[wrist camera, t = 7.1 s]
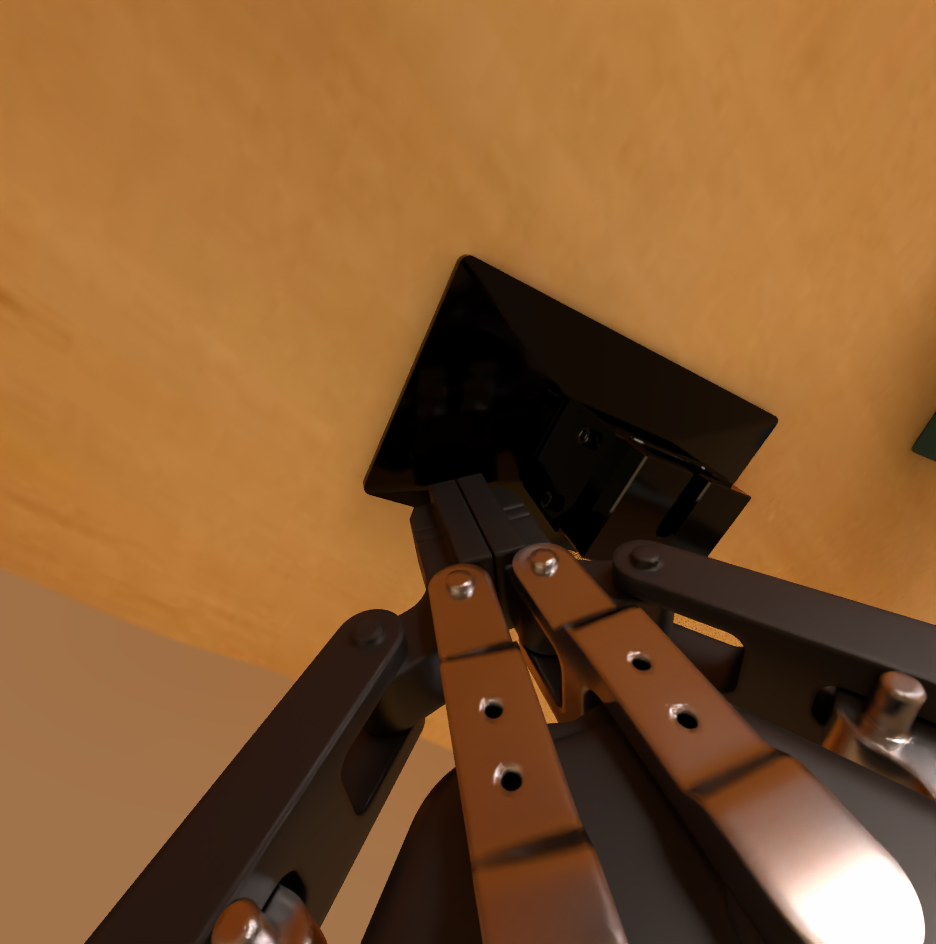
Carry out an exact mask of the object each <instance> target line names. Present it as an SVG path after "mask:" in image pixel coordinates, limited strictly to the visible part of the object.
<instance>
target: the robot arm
mask: <svg viewBox="0 0 936 944" xmlns="http://www.w3.org/2000/svg"><path fill="white" fill-rule="evenodd" d="M428 487H429V495H430V500H431V503H429V504H425V505H421V506H416V507H414V509H413V512H412V514H411V517H410V524H411V528H412V533H413V538H414V543H415V548H416V552H417V557H418V562H419V566H420V570H421V573H422V577H423V581H424V584H425V588H426V592H425V594H424V596H423V597H422V599H421V600H420V601H419V602H418V603H417V604H416V605H415V606H414V607H412V608H411V609H409V610H408V611H406V612H404V613H402V614H401V615H399V616H397V615H396V614H395V613H393V612H391V611H388V610H383V609H373V610H367V611H364V612H361V613H358V614H356V615H354V616H353V617H351V618H350V619H348V620H347V621H346V622H345V623H344V624H343V625H342V626H341V627H340V628H339V629H338V630H337V632H336V633H335V634H334V635H333V637H332V638H331V639H330V640H329V642H328V643H327V644H326V645H325V646H324V648H323V649H322V650H321V651H320V653H319V654H318V655H317V656H316V658H315V659H314V660H313V661H312V663H311V664H310V665H309V666H308V667H307V669H306V670H305V671H304V672H303V674H302V675H301V676H300V677H299V679H298V680H297V681H296V682H295V684H294V685H293V686H292V687H291V689H290V690H289V691H288V692H287V693H286V695H285V696H284V697H283V698H282V700H281V701H280V702H279V703H278V705H277V706H276V707H275V708H274V710H273V711H272V712H271V713H270V715H269V716H268V717H267V718H266V719H265V721H264V722H263V723H262V724H261V726H260V727H259V728H258V729H257V731H256V732H255V733H254V734H253V735H252V737H251V738H250V739H249V740H248V742H247V743H246V744H245V745H244V747H243V748H242V749H241V750H240V752H239V753H238V754H237V755H236V757H235V758H234V759H233V761H231V763H230V764H229V765H228V766H227V768H226V769H225V770H224V771H223V773H222V774H221V775H220V776H219V778H218V779H217V780H216V781H215V783H214V784H213V785H212V786H211V788H210V789H209V790H208V791H207V793H206V794H205V795H204V796H203V797H202V799H201V800H200V801H199V803H198V804H197V805H196V806H195V807H194V809H193V810H192V811H191V812H190V813H189V815H188V816H187V817H186V818H185V820H184V821H183V822H182V823H181V825H180V826H179V827H178V828H177V830H176V831H175V832H174V833H173V834H172V836H171V837H170V838H169V839H168V841H167V842H166V843H165V844H164V846H163V847H162V848H161V849H160V850H159V852H158V853H157V854H156V855H155V857H154V858H153V859H152V860H151V862H150V863H149V864H148V865H147V867H146V868H145V869H144V870H143V872H142V873H141V874H140V875H139V877H138V878H137V879H136V880H135V881H134V883H133V884H132V885H131V886H130V888H129V889H128V890H127V891H126V893H125V894H124V895H123V896H122V898H121V899H120V900H119V901H118V902H117V904H116V905H115V906H114V908H113V909H112V910H111V911H110V912H109V914H108V915H107V916H106V917H105V919H104V920H103V921H102V922H101V923H100V925H99V926H98V927H97V928H96V930H95V931H94V932H93V933H92V935H91V936H90V937H89V938H88V940H87V941H86V942H85V943H84V944H327V941H326V939H325V937H324V935H323V933H322V931H321V929H320V927H321V925H322V923H323V921H324V919H325V917H326V915H327V913H328V912H329V910H330V908H331V906H332V904H333V902H334V900H335V898H336V896H337V894H338V892H339V890H340V888H341V886H342V884H343V883H344V881H345V879H346V877H347V874H348V873H349V871H350V869H351V867H352V865H353V863H354V861H355V859H356V857H357V855H358V854H359V852H360V849H361V848H362V846H363V844H364V842H365V840H366V838H367V836H368V834H369V832H370V830H371V828H372V826H373V825H374V823H375V821H376V819H377V817H378V815H379V813H380V811H381V809H382V807H383V805H384V803H385V801H386V799H387V798H388V795H389V794H390V792H391V790H392V788H393V786H394V784H395V782H396V780H397V778H398V776H399V774H400V773H401V771H402V769H403V767H404V765H405V763H406V761H407V759H408V757H409V755H410V753H411V751H412V749H413V747H414V745H415V743H416V741H417V740H418V738H419V736H420V734H421V732H422V730H423V727H424V724H425V717H427V716H428V715H430V714H431V713H433V712H434V711H435V710H437V709H438V708H440V707H441V706H443V705H444V704H446V710H447V716H448V723H449V729H450V735H451V741H452V748H453V754H454V760H455V766H456V767H455V768H453V769H452V770H451V771H450V772H449V773H447V774H446V775H445V776H444V777H443V778H442V779H441V780H440V781H439V782H438V783H437V784H436V785H435V787H434V788H433V789H432V790H431V791H430V793H429V794H428V796H427V797H426V798H425V800H424V801H423V803H422V805H421V806H420V808H419V810H418V812H417V813H416V815H415V817H414V819H413V821H412V824H411V826H410V828H409V831H408V833H407V835H406V838H405V840H404V842H403V845H402V847H401V849H400V852H399V854H398V857H397V859H396V861H395V864H394V866H393V868H392V871H391V873H390V875H389V878H388V880H387V882H386V885H385V887H384V889H383V892H382V894H381V897H380V899H379V901H378V904H377V906H376V908H375V911H374V913H373V915H372V918H371V920H370V923H369V925H368V927H367V929H366V932H365V934H364V937H363V939H362V941H361V944H936V625H933V624H930V623H926V622H923V621H920V620H916V619H913V618H910V617H906V616H903V615H899V614H896V613H893V612H889V611H886V610H883V609H879V608H876V607H873V606H869V605H866V604H863V603H859V602H856V601H853V600H849V599H846V598H843V597H839V596H836V595H833V594H829V593H826V592H823V591H819V590H816V589H812V588H809V587H806V586H802V585H799V584H796V583H792V582H789V581H786V580H782V579H779V578H776V577H772V576H769V575H766V574H762V573H759V572H756V571H752V570H749V569H746V568H742V567H739V566H735V565H732V564H729V563H725V562H722V561H719V560H715V559H712V558H709V557H705V556H702V555H699V554H695V553H692V552H689V551H685V550H682V549H679V548H675V547H672V546H669V545H665V544H662V543H658V542H655V541H650V540H633V541H628V542H625V543H623V544H621V545H620V546H618V547H617V548H616V549H615V551H614V553H613V560H596V561H586V560H578V559H576V558H575V557H574V556H573V555H572V554H571V553H570V552H569V551H568V550H567V549H565V548H564V547H562V546H559V545H556V544H551V542H550V541H549V539H548V538H547V537H546V535H545V534H544V532H543V531H542V529H541V528H540V526H539V525H538V523H537V522H536V521H535V519H534V518H533V516H532V515H530V512H529V510H528V509H527V508H526V506H524V503H523V502H522V500H521V499H520V497H519V496H518V495H517V493H515V492H513V491H512V490H510V489H508V488H506V487H504V486H501V487H496V488H492V489H491V488H490V486H489V485H488V483H487V482H486V480H485V478H484V477H483V475H482V474H481V473H479V474H475V475H470V476H466V477H462V478H457V479H455V480H454V479H453V480H449V481H445V482H440V483H436V484H432V485H429V486H428ZM674 613H677V614H680V615H682V616H685V617H688V618H690V619H693V620H696V621H698V622H701V623H704V624H706V625H709V626H712V627H715V628H717V629H720V630H723V631H725V632H728V633H730V634H732V635H734V636H735V637H736V638H737V639H739V640H740V642H741V643H742V644H743V646H744V647H736V646H732V645H729V644H727V643H724V642H722V641H719V640H716V639H714V638H711V637H709V636H706V635H703V634H701V633H698V632H696V631H693V630H690V629H688V628H685V627H683V626H680V625H677V624H675V623H673V620H674ZM512 628H515V630H516V632H517V634H518V636H519V644H518V643H517V642H516V641H515V642H513V641H512V639H511V636H510V633H509V630H508V629H512ZM519 645H520V646H519ZM526 665H527V666H526ZM527 667H528V668H527ZM528 669H529V670H530V672H531V674H532V676H533V678H534V679H535V681H536V683H537V685H538V686H539V688H540V690H541V692H542V694H543V695H544V697H545V699H546V701H547V703H548V704H549V706H550V708H551V710H552V712H553V713H554V715H555V717H556V719H557V721H558V723H549V724H547V723H546V720H545V717H544V714H543V711H542V708H541V706H540V703H539V700H538V697H537V694H536V691H535V688H534V686H533V683H532V680H531V677H530V674H529V671H528Z"/></svg>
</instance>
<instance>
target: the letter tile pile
mask: <svg viewBox="0 0 936 944" xmlns="http://www.w3.org/2000/svg"><path fill="white" fill-rule="evenodd" d="M912 451H913V452H914V453H917V454H919V455H921V456H924V457H926V458H929V459H931V460H933V461H936V413H935V415H934V416H933V418H932V419H931V421H930V422H929V424H928V426H927V427H926V429H925V430H924V432H923V433H922V435H921V436H920V438H919V439H918V441H917V442H916V444H915V445H914V447H913V448H912Z"/></svg>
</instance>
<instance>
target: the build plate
mask: <svg viewBox="0 0 936 944" xmlns="http://www.w3.org/2000/svg"><path fill="white" fill-rule="evenodd" d="M777 423H778V418H777V417H776V416H774V415H772V414H770V413H768V412H766V411H765V410H763V409H761V408H759V407H757V406H755V405H753V404H751V403H749V402H748V401H746V400H744V399H742V398H740V397H738V396H736V395H734V394H732V393H731V392H729V391H727V390H725V389H723V388H721V387H719V386H717V385H715V384H714V383H712V382H710V381H708V380H706V379H704V378H702V377H700V376H698V375H697V374H695V373H693V372H691V371H689V370H687V369H685V368H683V367H681V366H680V365H678V364H676V363H674V362H672V361H670V360H668V359H666V358H664V357H662V356H661V355H659V354H657V353H655V352H653V351H651V350H649V349H647V348H645V347H644V346H642V345H640V344H638V343H636V342H634V341H632V340H630V339H628V338H627V337H625V336H623V335H621V334H619V333H617V332H615V331H613V330H611V329H610V328H608V327H606V326H604V325H602V324H600V323H598V322H596V321H594V320H593V319H591V318H589V317H587V316H585V315H583V314H581V313H579V312H577V311H576V310H574V309H572V308H570V307H568V306H566V305H564V304H562V303H560V302H559V301H557V300H555V299H553V298H551V297H549V296H547V295H545V294H543V293H542V292H540V291H538V290H536V289H534V288H532V287H530V286H528V285H526V284H525V283H523V282H521V281H519V280H517V279H515V278H513V277H511V276H509V275H508V274H506V273H504V272H502V271H500V270H498V269H496V268H494V267H492V266H491V265H489V264H487V263H485V262H483V261H481V260H479V259H477V258H475V257H473V256H471V255H462V256H461V257H459V259H458V260H457V262H456V264H455V267H454V269H453V271H452V274H451V276H450V278H449V281H448V283H447V285H446V288H445V290H444V292H443V295H442V297H441V300H440V302H439V304H438V307H437V309H436V311H435V314H434V316H433V318H432V321H431V323H430V325H429V328H428V330H427V332H426V335H425V337H424V339H423V342H422V344H421V346H420V349H419V351H418V354H417V356H416V358H415V361H414V363H413V365H412V368H411V370H410V372H409V375H408V377H407V379H406V382H405V384H404V386H403V389H402V391H401V393H400V396H399V398H398V401H397V403H396V405H395V408H394V410H393V412H392V415H391V417H390V419H389V422H388V424H387V426H386V429H385V431H384V433H383V436H382V438H381V440H380V443H379V445H378V448H377V450H376V452H375V455H374V457H373V459H372V462H371V464H370V466H369V469H368V471H367V473H366V476H365V478H364V481H363V486H364V490H365V492H366V493H367V494H369V495H372V496H376V497H379V498H383V499H387V500H390V501H394V502H397V503H401V504H405V505H408V506H412V507H416V506H421V505H425V504H429V503H431V500H430V495H429V487H428V486H429V485H432V484H436V483H440V482H445V481H449V480H453V479H454V480H455V479H457V478H462V477H466V476H470V475H475V474H479V473H481V474H482V475H483V477H484V478H485V480H486V482H487V483H488V485H489V486H490V488H491V489H492V488H496V487H501V486H504V487H506V488H508V489H510V490H512V491H513V492H515V493H517V495H518V496H519V497H520V499H521V500H522V502H523V503H524V506H526V508H527V509H528V510H529V512H530V515H532V516H533V518H534V519H535V521H536V522H537V523H538V525H539V526H540V528H541V529H542V531H543V532H544V534H545V535H546V537H547V538H548V539H549V541H550V542H551V544H556V545H559V546H562V547H564V548H565V549H567V550H571V551H575V552H578V553H579V555H580V556H581V557H582V558H585V559H588V560H592V561H596V560H613V553H614V551H615V549H616V548H617V547H618V546H620V545H621V544H623V543H625V542H628V541H633V540H650V541H655V542H658V543H662V544H665V545H669V546H672V547H675V548H679V549H682V550H685V551H689V552H692V553H695V554H699V555H702V556H705V557H708V555H709V554H710V553H711V551H712V550H713V549H714V547H715V546H716V545H717V543H718V542H719V541H720V539H721V538H722V537H723V535H724V534H725V533H726V531H727V530H728V529H729V527H730V526H731V525H732V523H733V522H734V521H735V519H736V518H737V517H738V515H739V514H740V513H741V511H742V510H743V509H744V507H745V506H746V505H747V503H748V502H749V501H750V499H751V497H750V496H749V495H747V494H746V493H745V492H743V491H742V490H740V489H739V488H737V487H736V486H734V485H733V484H734V483H735V481H736V480H737V479H738V477H739V476H740V475H741V473H742V472H743V470H744V469H745V468H746V466H747V465H748V464H749V462H750V461H751V459H752V458H753V457H754V455H755V454H756V452H757V451H758V450H759V448H760V447H761V446H762V444H763V443H764V441H765V440H766V439H767V437H768V436H769V435H770V433H771V432H772V430H773V429H774V428H775V426H776V425H777Z"/></svg>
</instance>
